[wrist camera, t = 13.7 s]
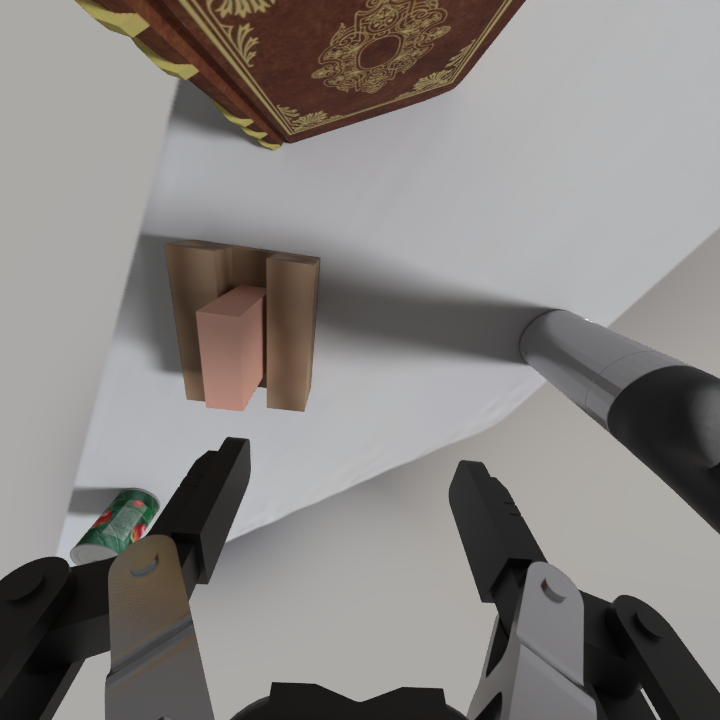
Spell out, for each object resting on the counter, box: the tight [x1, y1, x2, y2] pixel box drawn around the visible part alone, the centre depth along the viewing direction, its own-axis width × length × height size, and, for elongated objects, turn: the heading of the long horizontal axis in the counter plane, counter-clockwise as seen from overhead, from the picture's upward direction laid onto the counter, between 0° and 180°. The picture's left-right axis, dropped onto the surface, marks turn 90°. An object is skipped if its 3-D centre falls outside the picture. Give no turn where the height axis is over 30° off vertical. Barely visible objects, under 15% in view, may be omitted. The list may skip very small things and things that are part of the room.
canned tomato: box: [70, 488, 160, 566], centre depth 53 cm, size 8×8×11 cm
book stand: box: [164, 240, 320, 412], centre depth 39 cm, size 16×20×6 cm
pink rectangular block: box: [196, 285, 267, 411], centre depth 35 cm, size 4×11×12 cm, turn 172°
